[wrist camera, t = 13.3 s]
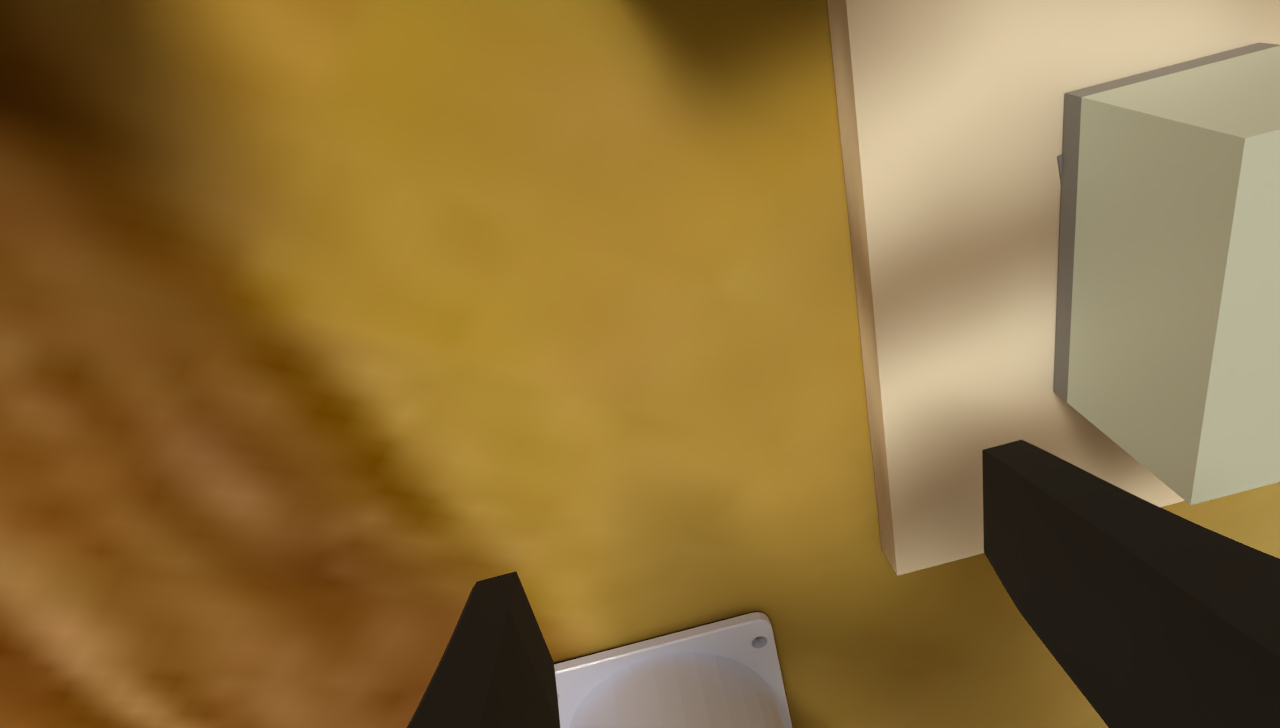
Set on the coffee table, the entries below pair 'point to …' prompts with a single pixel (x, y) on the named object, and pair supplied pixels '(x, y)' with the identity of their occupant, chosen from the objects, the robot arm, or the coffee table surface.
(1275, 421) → the block
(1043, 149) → the birch board
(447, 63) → the coffee table surface
